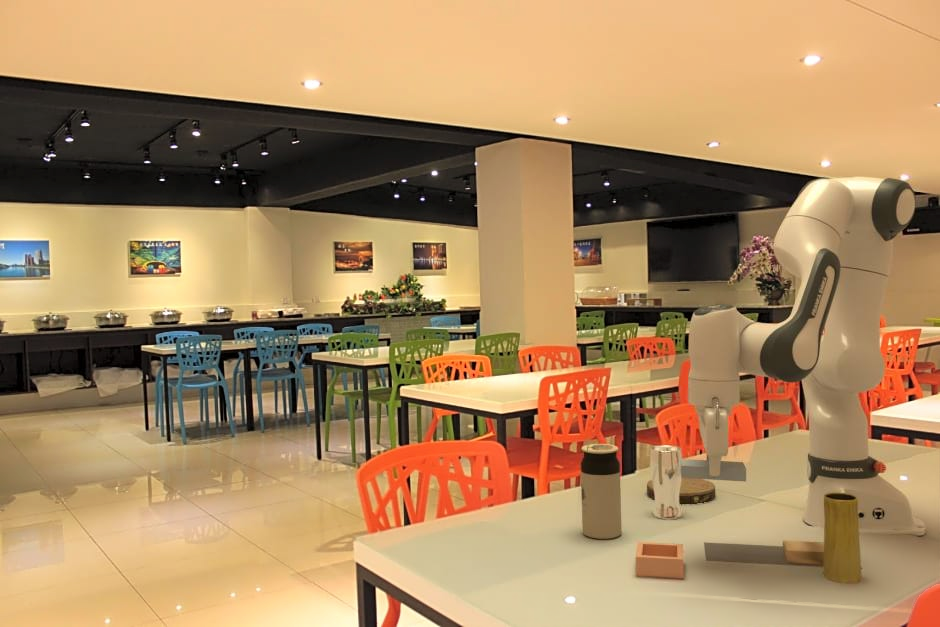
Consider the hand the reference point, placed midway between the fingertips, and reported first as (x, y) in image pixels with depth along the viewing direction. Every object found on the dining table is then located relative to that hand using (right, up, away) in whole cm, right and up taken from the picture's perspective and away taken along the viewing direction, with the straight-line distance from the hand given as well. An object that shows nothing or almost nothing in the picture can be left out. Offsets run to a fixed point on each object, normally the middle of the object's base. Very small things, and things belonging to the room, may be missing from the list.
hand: (713, 470), depth 138 cm
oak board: (+19, -16, 0) cm, 25 cm away
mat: (+13, -17, +3) cm, 21 cm away
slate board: (0, -1, 0) cm, 1 cm away
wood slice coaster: (+7, -16, +47) cm, 50 cm away
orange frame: (-10, -18, -3) cm, 20 cm away
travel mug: (-17, -17, +20) cm, 31 cm away
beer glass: (0, -17, +31) cm, 35 cm away
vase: (+19, -17, -8) cm, 27 cm away
